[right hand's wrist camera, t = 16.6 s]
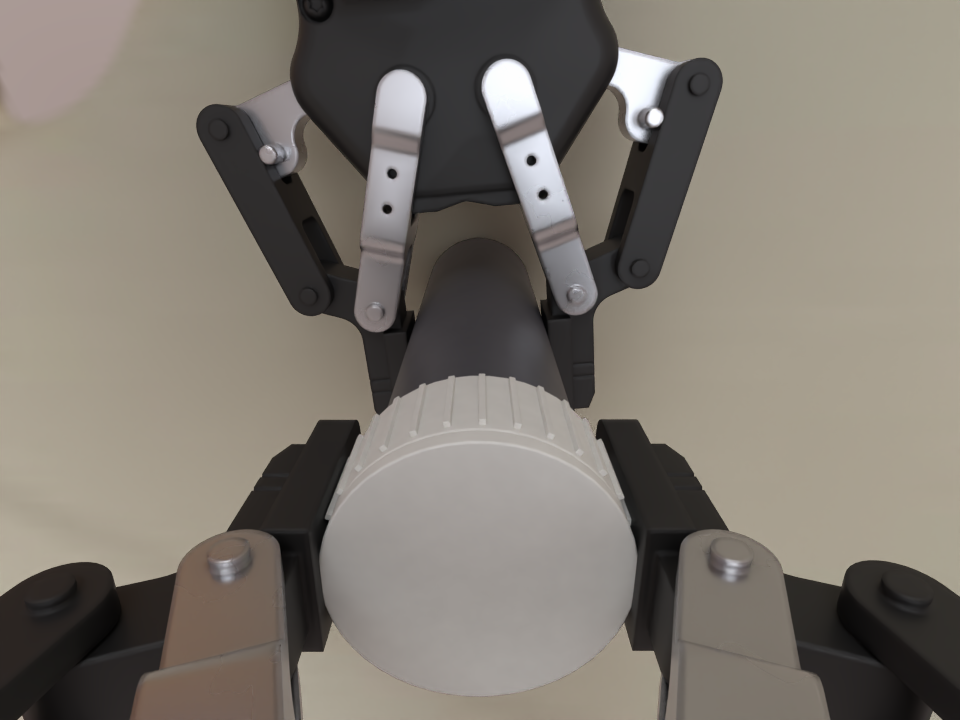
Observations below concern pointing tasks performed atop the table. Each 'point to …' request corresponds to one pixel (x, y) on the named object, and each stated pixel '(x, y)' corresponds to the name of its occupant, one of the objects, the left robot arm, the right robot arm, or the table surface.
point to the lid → (478, 540)
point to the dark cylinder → (479, 323)
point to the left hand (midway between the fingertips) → (487, 419)
